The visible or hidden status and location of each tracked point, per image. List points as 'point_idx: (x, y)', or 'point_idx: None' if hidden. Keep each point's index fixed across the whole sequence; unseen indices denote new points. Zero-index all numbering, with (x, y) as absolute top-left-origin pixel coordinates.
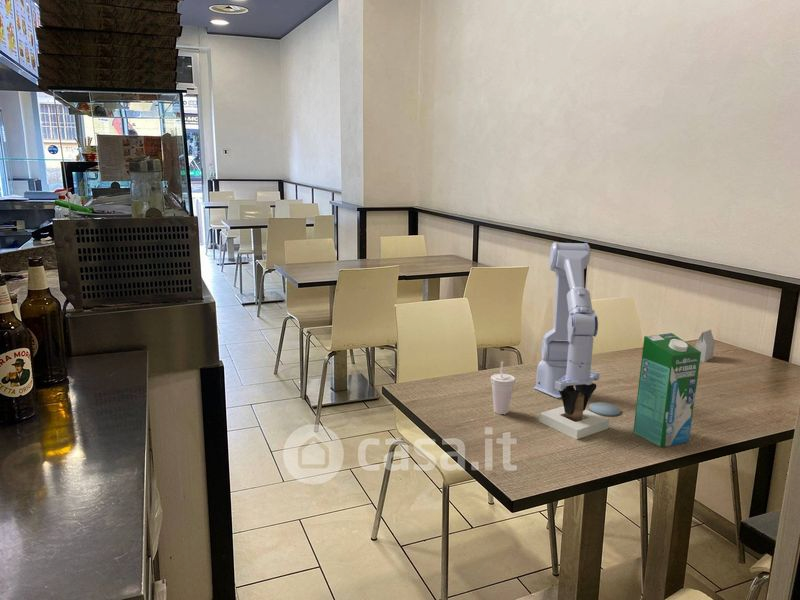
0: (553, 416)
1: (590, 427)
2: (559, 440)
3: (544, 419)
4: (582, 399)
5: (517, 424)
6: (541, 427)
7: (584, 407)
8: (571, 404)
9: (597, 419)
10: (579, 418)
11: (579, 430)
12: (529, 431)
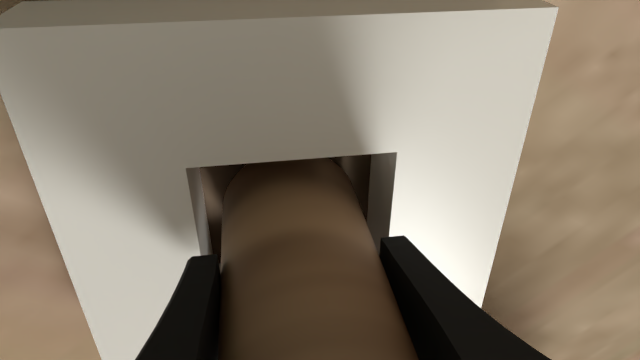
0: None
1: (341, 9)
2: (615, 50)
3: None
4: (326, 354)
5: (568, 319)
6: (505, 249)
7: (211, 277)
8: (486, 317)
9: (133, 97)
10: (310, 186)
11: (523, 5)
12: (611, 236)
